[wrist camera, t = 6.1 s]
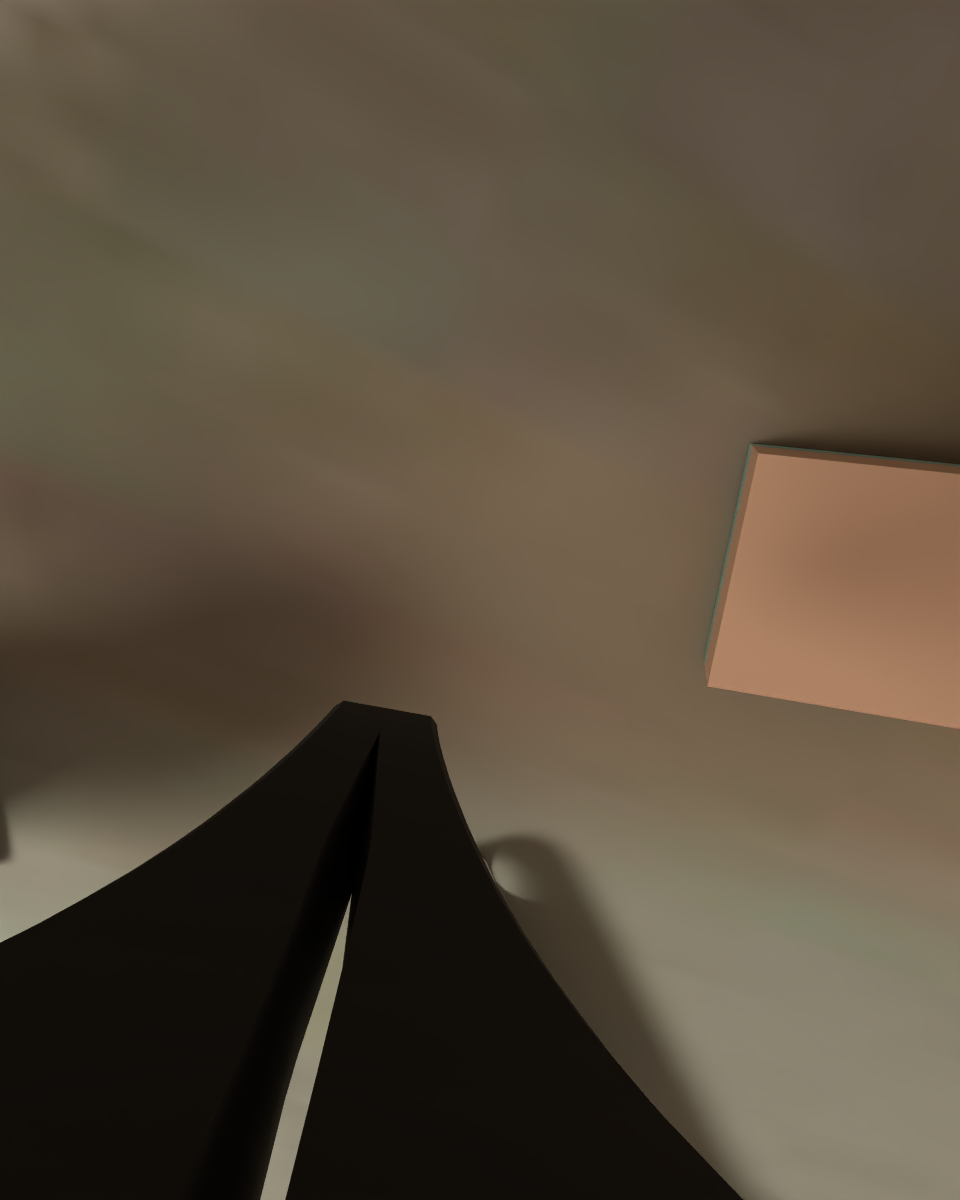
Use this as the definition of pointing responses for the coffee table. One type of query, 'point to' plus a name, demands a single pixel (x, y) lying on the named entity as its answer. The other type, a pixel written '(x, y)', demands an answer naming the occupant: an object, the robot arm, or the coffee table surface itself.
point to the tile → (843, 585)
